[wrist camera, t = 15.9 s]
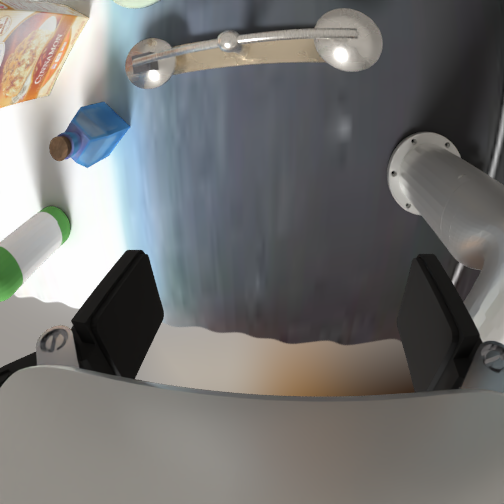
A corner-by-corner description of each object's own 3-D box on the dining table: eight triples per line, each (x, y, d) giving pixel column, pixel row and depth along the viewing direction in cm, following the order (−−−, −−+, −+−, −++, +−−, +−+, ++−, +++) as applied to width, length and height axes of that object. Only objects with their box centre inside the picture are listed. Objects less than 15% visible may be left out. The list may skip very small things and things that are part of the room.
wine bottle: (53, 243, 54) (-42, 345, 28) (37, 208, 50) (-70, 302, 25) (78, 236, 52) (-23, 350, 27) (62, 199, 48) (-56, 302, 23)
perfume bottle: (108, 155, 44) (63, 182, 33) (83, 131, 42) (35, 152, 32) (130, 126, 41) (85, 145, 31) (104, 101, 39) (54, 114, 29)
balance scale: (359, 26, 31) (393, 2, 18) (362, 74, 34) (398, 73, 22) (135, 47, 35) (74, 42, 22) (140, 91, 38) (81, 103, 26)
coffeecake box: (49, 96, 39) (-41, 124, 22) (26, 79, 37) (-60, 102, 20) (91, 17, 32) (-2, 9, 15) (65, 3, 30) (-26, -4, 13)
